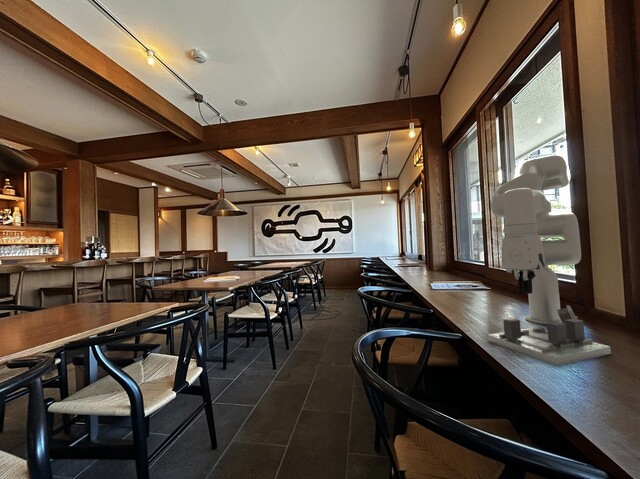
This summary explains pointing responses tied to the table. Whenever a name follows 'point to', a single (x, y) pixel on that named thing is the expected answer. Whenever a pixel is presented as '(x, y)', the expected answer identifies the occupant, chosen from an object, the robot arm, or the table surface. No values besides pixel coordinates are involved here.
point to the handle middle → (557, 333)
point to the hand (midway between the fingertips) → (525, 293)
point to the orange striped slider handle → (512, 328)
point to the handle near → (575, 329)
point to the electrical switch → (566, 314)
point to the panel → (550, 347)
